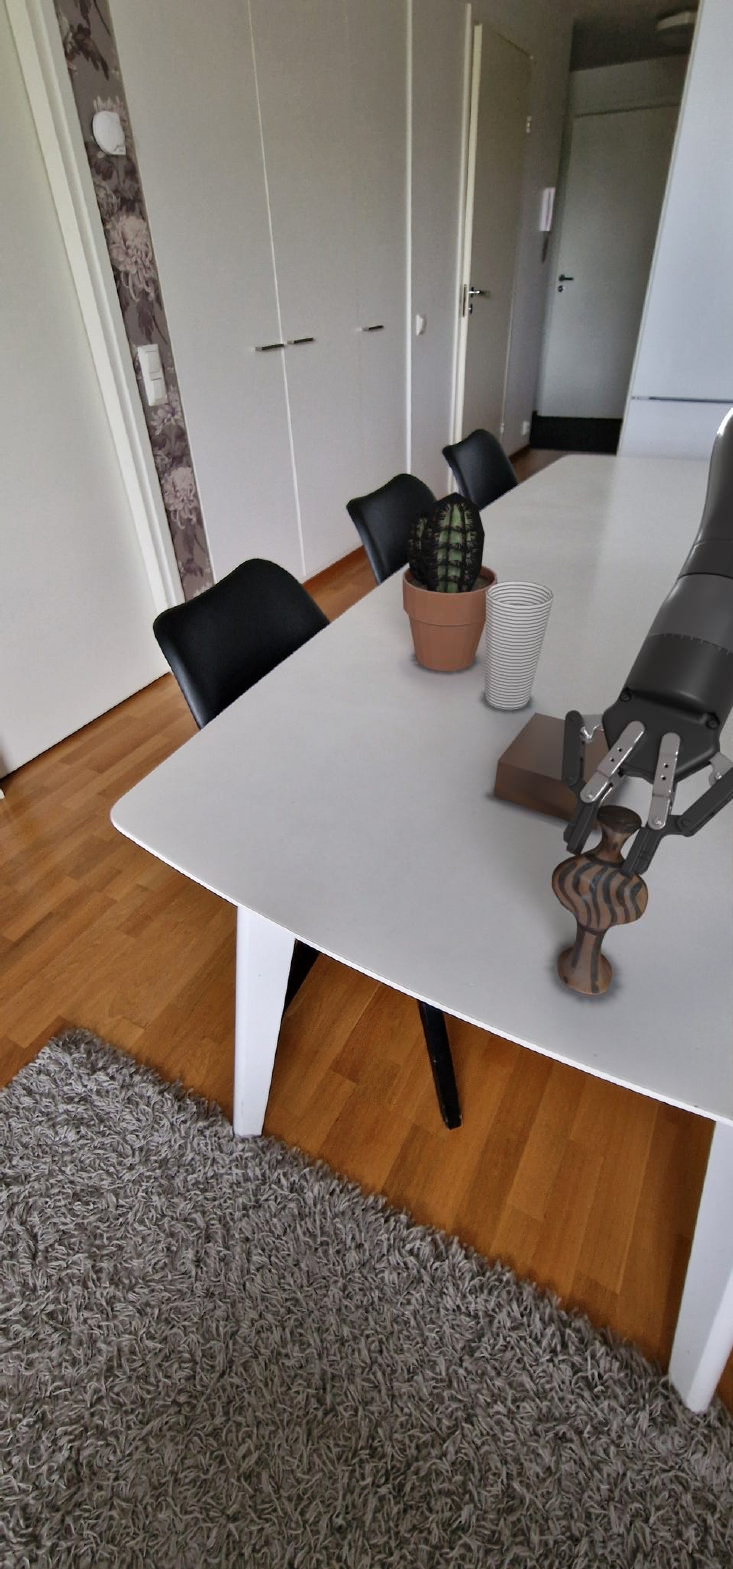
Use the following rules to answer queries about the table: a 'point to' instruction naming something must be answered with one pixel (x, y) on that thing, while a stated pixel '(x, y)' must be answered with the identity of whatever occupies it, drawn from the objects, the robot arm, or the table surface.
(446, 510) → the potted plant
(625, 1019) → the table surface
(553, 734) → the walnut block
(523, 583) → the cup
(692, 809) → the robot arm
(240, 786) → the table surface
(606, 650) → the table surface
